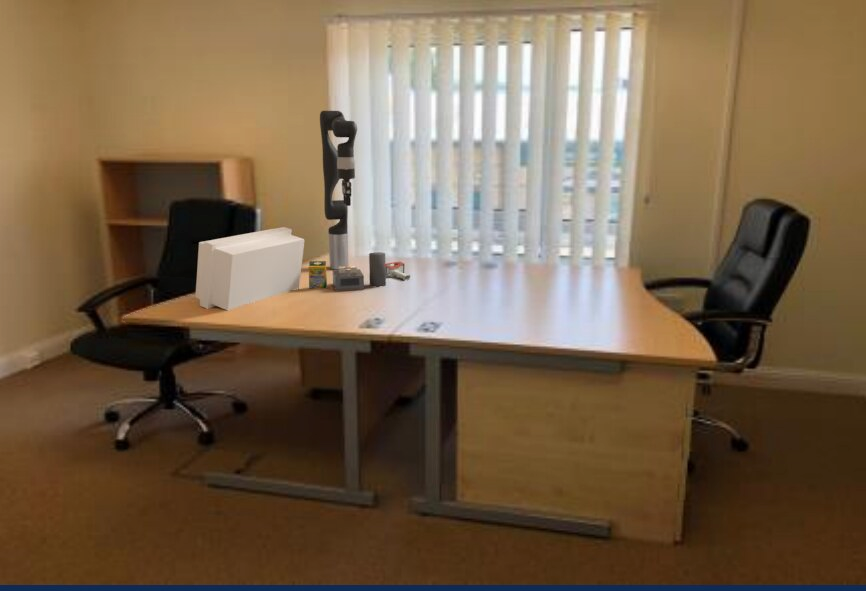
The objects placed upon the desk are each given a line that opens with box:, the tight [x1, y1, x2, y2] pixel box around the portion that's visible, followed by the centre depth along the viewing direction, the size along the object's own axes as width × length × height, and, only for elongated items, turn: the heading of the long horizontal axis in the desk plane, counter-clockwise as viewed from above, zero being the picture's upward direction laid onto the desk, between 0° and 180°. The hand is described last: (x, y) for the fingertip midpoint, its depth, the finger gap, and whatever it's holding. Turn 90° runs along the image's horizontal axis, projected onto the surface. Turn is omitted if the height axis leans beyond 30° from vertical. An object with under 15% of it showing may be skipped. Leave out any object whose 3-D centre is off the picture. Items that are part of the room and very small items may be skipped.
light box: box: [195, 226, 306, 311], centre depth 278 cm, size 45×17×26 cm, turn 151°
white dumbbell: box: [338, 265, 358, 273], centre depth 297 cm, size 1×8×3 cm, turn 103°
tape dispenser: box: [385, 261, 411, 281], centre depth 321 cm, size 18×5×20 cm
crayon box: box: [308, 260, 328, 289], centre depth 295 cm, size 7×3×12 cm, turn 93°
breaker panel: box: [332, 268, 365, 291], centre depth 298 cm, size 14×12×6 cm
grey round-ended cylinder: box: [368, 251, 387, 288], centre depth 300 cm, size 7×7×14 cm
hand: (347, 204), depth 305 cm, fingers open, 8 cm apart
